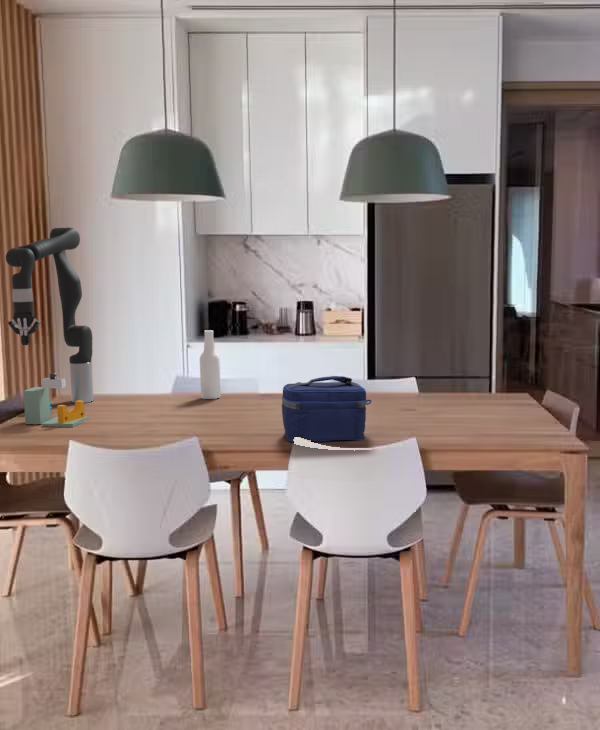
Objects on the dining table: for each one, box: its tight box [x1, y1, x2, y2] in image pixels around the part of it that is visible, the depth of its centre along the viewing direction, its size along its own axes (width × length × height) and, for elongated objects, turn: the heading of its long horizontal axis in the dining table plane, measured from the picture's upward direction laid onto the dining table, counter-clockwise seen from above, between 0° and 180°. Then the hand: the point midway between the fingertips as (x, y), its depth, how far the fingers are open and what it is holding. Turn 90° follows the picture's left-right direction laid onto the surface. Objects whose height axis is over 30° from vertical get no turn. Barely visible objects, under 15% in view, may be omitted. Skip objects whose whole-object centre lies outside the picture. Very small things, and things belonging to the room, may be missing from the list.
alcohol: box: [199, 329, 222, 400], centre depth 351 cm, size 9×9×30 cm
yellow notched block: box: [56, 400, 86, 423], centre depth 305 cm, size 12×4×6 cm, turn 155°
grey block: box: [40, 372, 67, 389], centre depth 304 cm, size 4×8×5 cm, turn 83°
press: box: [23, 386, 89, 428], centre depth 305 cm, size 15×20×13 cm
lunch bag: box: [281, 375, 372, 443], centre depth 276 cm, size 31×21×20 cm
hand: (25, 345), depth 312 cm, fingers closed
